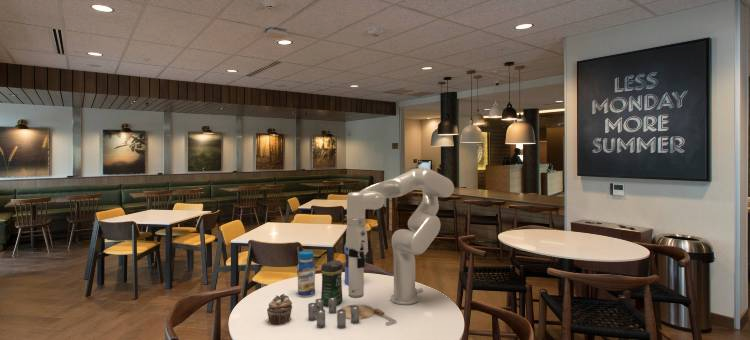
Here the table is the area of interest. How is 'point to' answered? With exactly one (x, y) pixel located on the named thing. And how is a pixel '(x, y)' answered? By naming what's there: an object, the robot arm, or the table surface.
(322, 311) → the spacer field
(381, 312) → the hook tool
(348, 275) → the water bottle
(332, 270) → the coffee jar
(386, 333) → the table surface
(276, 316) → the cupcake
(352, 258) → the travel mug
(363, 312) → the round wooden board
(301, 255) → the beverage bottle
